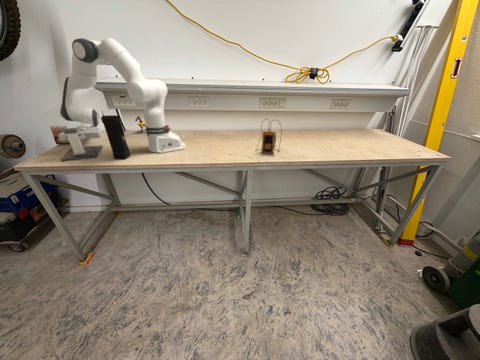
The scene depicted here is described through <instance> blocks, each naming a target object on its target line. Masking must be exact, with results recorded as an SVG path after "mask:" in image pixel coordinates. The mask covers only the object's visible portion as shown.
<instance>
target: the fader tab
mask: <svg viewBox="0 0 480 360" xmlns="http://www.w3.org/2000/svg"><path fill="white" fill-rule="evenodd" d="M63 131H64V134H66V135H67V137H68V140H69V142H70V144H71V145H70V146H71V148H72V149H73V151H74V154H73V156H78V155H85V154H86V151H84V149H83V147H84V146H83V145H82V142H81V141H82V140H80V139H79V136H78V134H77V132H78V131H77V128H76V127H72V128H71V127H70V128H67V129H65V128H64V130H63Z"/></svg>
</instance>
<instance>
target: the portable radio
mask: <svg viewBox="0 0 480 360" xmlns="http://www.w3.org/2000/svg"><path fill="white" fill-rule="evenodd" d="M101 114H102V116H101V117H100V119H101V123H102V124H103V126H104V129H105V132H106V136H107V139H108V142H109V145H110V148H111V152H112V156H113V158H114V159H115V160H126V159H127V158H129V157H131V152H130V148H129V146H128V142H127V139H126V136H125V131H124V127H123V125H122V122H121V119H120V115H115V114H113V115H105V114H104V111H101Z"/></svg>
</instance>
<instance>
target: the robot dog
mask: <svg viewBox="0 0 480 360" xmlns="http://www.w3.org/2000/svg"><path fill="white" fill-rule="evenodd" d="M138 120H139V122H138V123H137V125H138V127H139V128H140V134H141V133H143V129H144V128H145V129H144V131H145V132H146V124H145V120H142V119H141V117H140V116H139V115H138V116H137V117H136V118H135V119H134V121H135V122H137V121H138Z"/></svg>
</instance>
